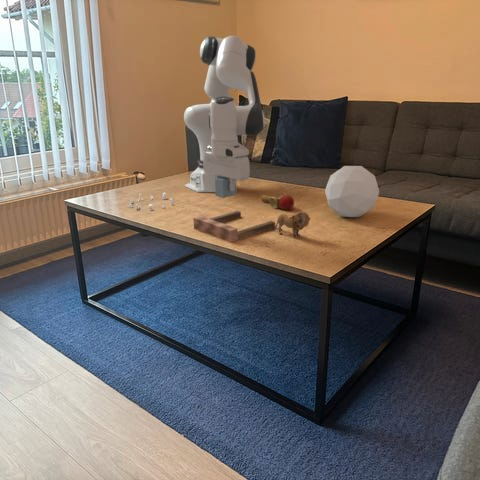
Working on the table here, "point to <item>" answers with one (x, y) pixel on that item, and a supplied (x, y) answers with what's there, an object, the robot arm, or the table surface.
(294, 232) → the lion figurine
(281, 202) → the kendama
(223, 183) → the block
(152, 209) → the game piece set
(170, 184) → the table surface
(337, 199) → the geometric polyhedron
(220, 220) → the stop channel
